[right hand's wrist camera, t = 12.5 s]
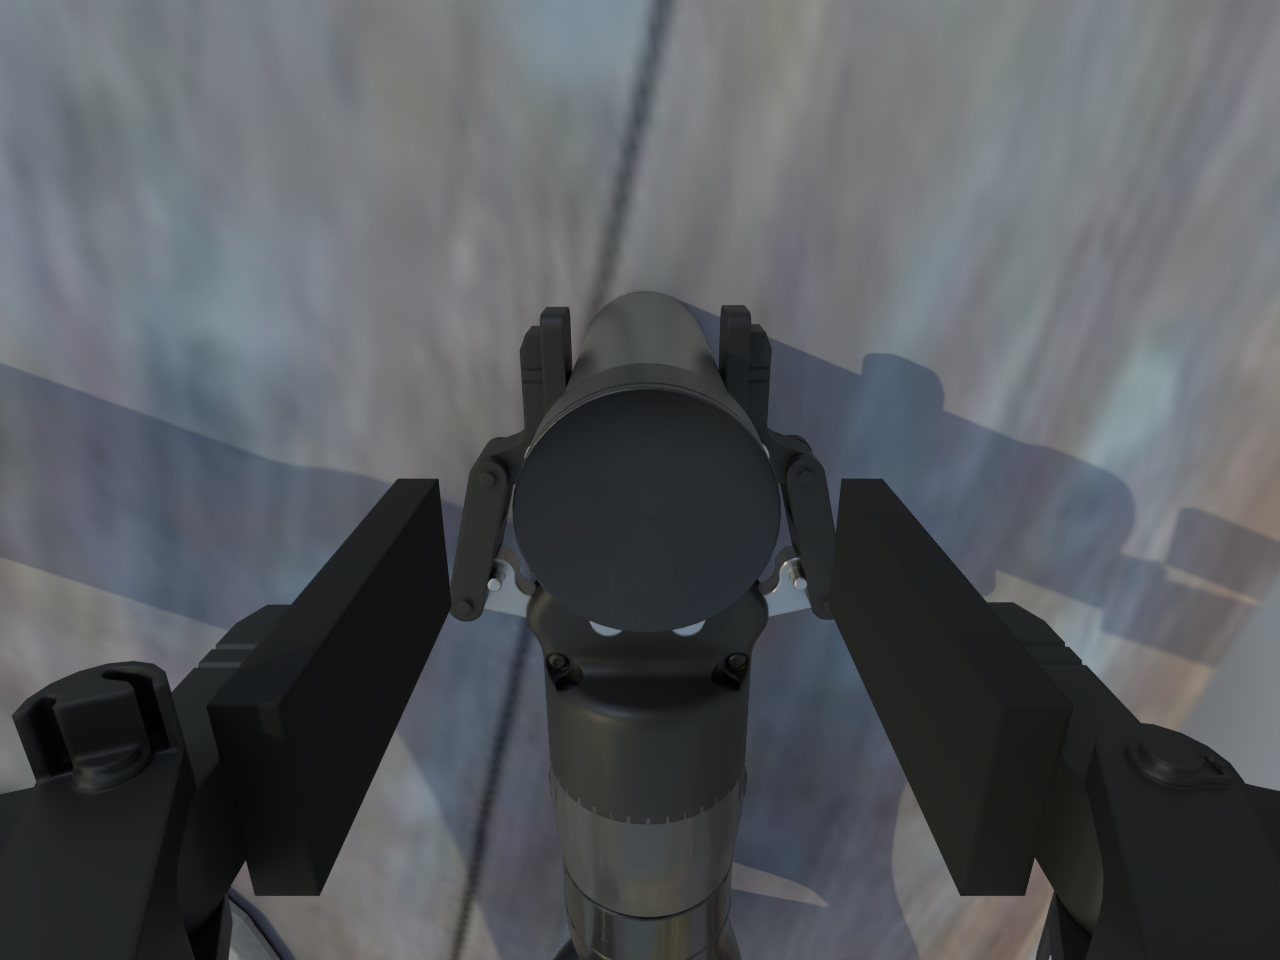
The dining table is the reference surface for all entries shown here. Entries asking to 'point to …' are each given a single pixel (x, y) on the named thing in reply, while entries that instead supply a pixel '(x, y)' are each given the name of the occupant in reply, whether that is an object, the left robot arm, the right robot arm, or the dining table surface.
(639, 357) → the jar
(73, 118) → the dining table surface
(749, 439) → the lid
